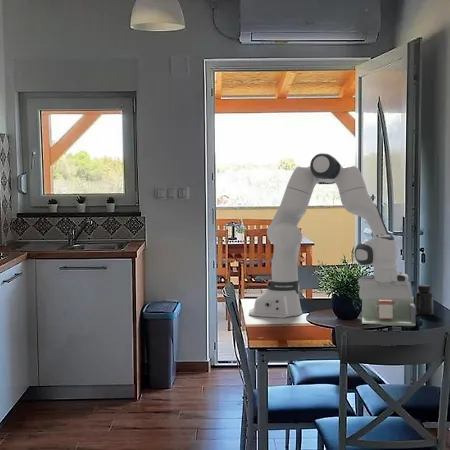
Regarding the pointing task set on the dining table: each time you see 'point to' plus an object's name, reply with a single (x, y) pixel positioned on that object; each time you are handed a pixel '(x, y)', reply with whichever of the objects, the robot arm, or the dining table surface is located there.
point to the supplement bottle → (424, 301)
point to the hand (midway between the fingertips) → (385, 310)
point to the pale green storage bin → (400, 316)
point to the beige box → (385, 309)
